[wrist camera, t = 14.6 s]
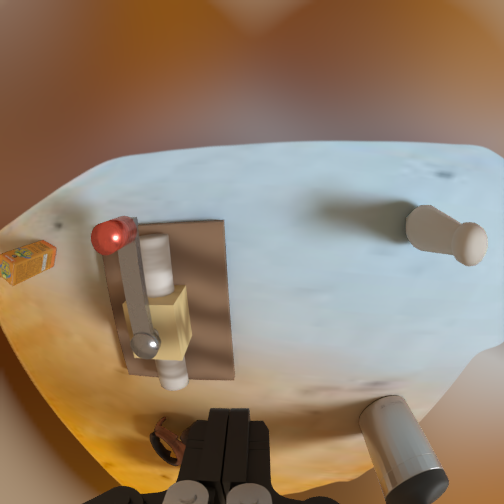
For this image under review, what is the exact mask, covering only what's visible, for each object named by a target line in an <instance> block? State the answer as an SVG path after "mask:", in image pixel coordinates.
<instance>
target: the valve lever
mask: <svg viewBox="0 0 504 504" xmlns="http://www.w3.org/2000/svg"><path fill="white" fill-rule="evenodd" d="M91 242H92V245H93V247H94V249H95V250H96V251H97V252H98V253H100V254H102V255H110V254H112V253H114V252H116V251H117V250H118V257H119V263H120V270H121V276H122V282H123V287H124V293H125V298H126V303H127V308H128V313H129V318H130V322H131V327H132V331H133V338H132V339H131V342H130V346H131V349H132V351H133V352H134V353H135V354H136V355H137V356H138V357H140V358H142V359H152V358H154V357H155V356H156V354H157V352H158V350H159V349H160V347H161V339H160V337H159V335H158V334H157V333H156V332H155V331H154V329H153V324H152V319H151V313H150V308H149V302H148V296H147V290H146V284H145V277H144V270H143V263H142V256H141V248H140V240H139V231H138V221H137V217H127V216H121V217H118V218H115V219H112V220H109V221H106V222H103V223H100V224H98V225H96V226H95V227H94V229H93V231H92V234H91Z"/></svg>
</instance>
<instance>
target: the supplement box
mask: <svg viewBox="0 0 504 504" xmlns="http://www.w3.org/2000/svg"><path fill="white" fill-rule="evenodd" d="M56 250H57V248H56V247H54V246H53V245H51V244H49V243H47V242H45V241H44V240H42V241H39V242H36V243H32V244H29V245H26V246H23V247H20V248H17V249H14V250H11V251H8V252H5V253H2V254H0V277H2V278H3V279H5V280H6V281H7V282H8V283H9V284H10V285H12V286H14V285H16V284H18V283H20V282H23V281H25V280H27V279H29V278H31V277H33V276H35V275H37V274H39V273H41V272H43V271H45V270H47V269H50V268H52V267H53V266H54V262H55V256H56Z"/></svg>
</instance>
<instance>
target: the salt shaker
mask: <svg viewBox="0 0 504 504" xmlns="http://www.w3.org/2000/svg"><path fill="white" fill-rule="evenodd" d="M405 232H406V235H407V238H408V239H409V241H410V242H411V244H412V245H413V246H414V247H415V248H417V249H419V250H421V251H427V252H435V253H442V254H449V255H454V256H455V258H456V260H457V261H459V262H460V263H462V264H464V265H465V266H475V265H477V264H478V263H479V262H480V261H482V259H483V257H484V256H485V254H486V251H487V247H488V240H487V235H486V232H485V230H484V229H483V228H482V227H481V226H479V225H478V224H476V223H472V222H466V223H463V224H461V223H460V222H458V221H456V220H455V219H453V218H451V217H450V216H448V215H446V214H445V213H443V212H441V211H440V210H438V209H436V208H435V207H433V206H431V205H420V206H419V207H417V208H416V209H414V210H413V211H412V212H411V213H410V214H409V215H408V216H407V217H406V230H405Z"/></svg>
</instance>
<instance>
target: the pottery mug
mask: <svg viewBox="0 0 504 504" xmlns="http://www.w3.org/2000/svg"><path fill="white" fill-rule="evenodd" d="M165 420H166V417H163V418H162V419H161V420H159V422H158V423H157V424H156V426H155V429H154V432H153V433H151V434H150V442H151V444H152V446H153V448H154V449H155V451H156V452H157V454H158V455H159V456H160V457H161V458H162V459H163V460H164V461H166V462H167V463H169V464H171V465H173V466H179V465H180V464H181V463H182V459H183V455H184V451H185V446H186V442H187V438H188V434H189V430H190V428H191V427H192V426H193V425H194V423H195V422H194V423H193V424H192V425H191V427H190V428H187V429H186V430H185V431H183V433H182V435H181V437H180V439H181V441H179V440H177V438H178V436H177V435H176V434H174V433H172V432H171V431H169V430H167V429H165V428H164V427H162V423H163V422H164V421H165ZM159 437H160V438H162V439H163V440H164V441H165V442H166V443H167V444H168V445H169V446H171V448H172V449H173V451H174V453H175V454H176V457H177V458H172V457H170V453H171V451H168V450H167V449H165V447H164V446H163V444H162V443H161V442H160V438H159Z"/></svg>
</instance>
